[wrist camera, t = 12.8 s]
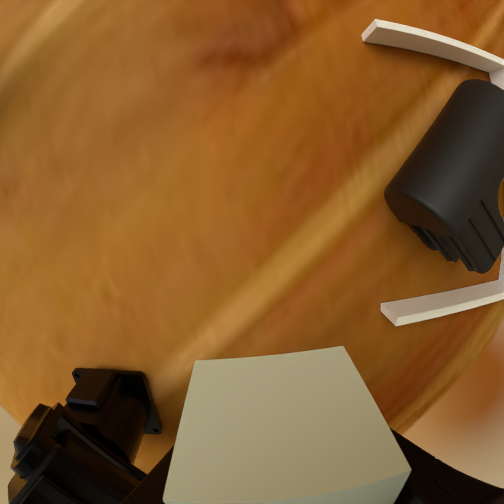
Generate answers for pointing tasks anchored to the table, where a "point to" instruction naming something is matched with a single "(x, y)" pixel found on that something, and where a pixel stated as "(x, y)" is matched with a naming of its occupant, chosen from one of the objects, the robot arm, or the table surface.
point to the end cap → (457, 179)
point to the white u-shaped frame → (500, 75)
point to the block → (283, 434)
